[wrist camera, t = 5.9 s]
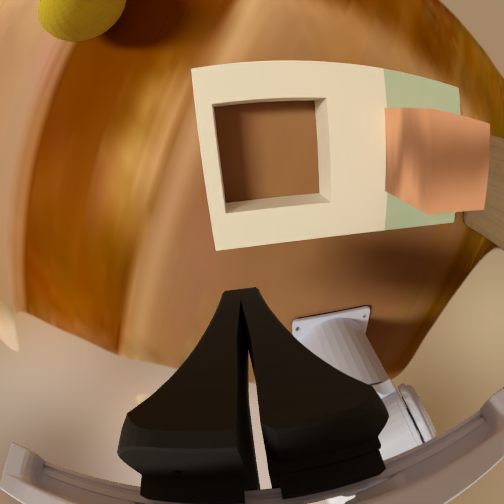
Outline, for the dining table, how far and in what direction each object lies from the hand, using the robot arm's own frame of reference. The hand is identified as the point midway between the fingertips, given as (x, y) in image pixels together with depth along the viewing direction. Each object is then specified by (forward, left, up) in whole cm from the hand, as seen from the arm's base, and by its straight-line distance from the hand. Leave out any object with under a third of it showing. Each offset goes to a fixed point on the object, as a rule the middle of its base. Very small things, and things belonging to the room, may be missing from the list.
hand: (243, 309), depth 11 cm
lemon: (+18, +8, -11) cm, 22 cm away
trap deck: (+5, -9, -10) cm, 14 cm away
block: (+5, -14, -8) cm, 17 cm away
